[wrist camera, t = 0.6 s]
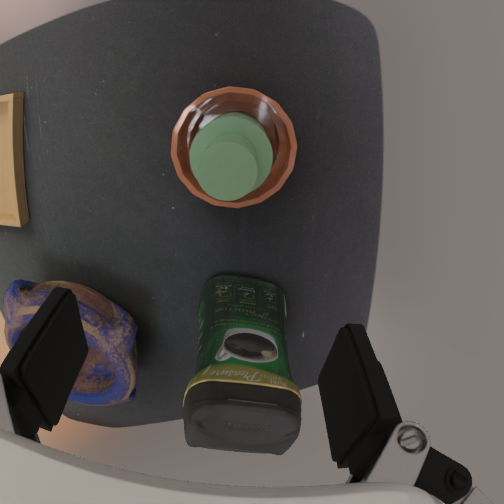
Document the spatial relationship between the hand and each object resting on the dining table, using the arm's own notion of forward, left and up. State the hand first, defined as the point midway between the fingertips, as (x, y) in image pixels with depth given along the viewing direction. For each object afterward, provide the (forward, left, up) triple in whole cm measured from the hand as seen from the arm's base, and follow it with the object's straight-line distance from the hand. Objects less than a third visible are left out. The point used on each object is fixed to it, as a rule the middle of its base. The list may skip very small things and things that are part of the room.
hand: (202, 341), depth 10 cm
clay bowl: (-3, 0, -22) cm, 22 cm away
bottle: (-3, 0, -21) cm, 22 cm away
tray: (0, -30, -22) cm, 37 cm away
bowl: (+21, -17, -22) cm, 35 cm away
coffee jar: (+15, +3, -22) cm, 27 cm away
